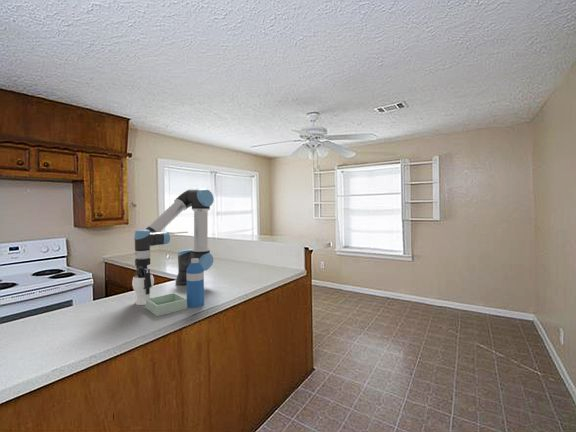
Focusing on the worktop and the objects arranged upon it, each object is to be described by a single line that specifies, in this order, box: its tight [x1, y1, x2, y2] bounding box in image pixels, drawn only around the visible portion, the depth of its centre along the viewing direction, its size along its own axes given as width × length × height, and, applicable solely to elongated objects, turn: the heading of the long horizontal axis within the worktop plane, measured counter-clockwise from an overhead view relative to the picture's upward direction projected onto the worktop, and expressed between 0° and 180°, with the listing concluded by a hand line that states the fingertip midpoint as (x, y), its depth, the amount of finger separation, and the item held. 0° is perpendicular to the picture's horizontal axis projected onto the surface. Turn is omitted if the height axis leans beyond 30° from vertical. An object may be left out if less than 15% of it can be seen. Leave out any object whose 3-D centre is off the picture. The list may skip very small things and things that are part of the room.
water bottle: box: [186, 258, 205, 309], centre depth 156 cm, size 9×9×25 cm
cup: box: [131, 273, 155, 306], centre depth 159 cm, size 11×11×15 cm
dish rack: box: [145, 292, 188, 317], centre depth 151 cm, size 15×15×5 cm
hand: (143, 297), depth 159 cm, fingers closed on cup, 11 cm apart
